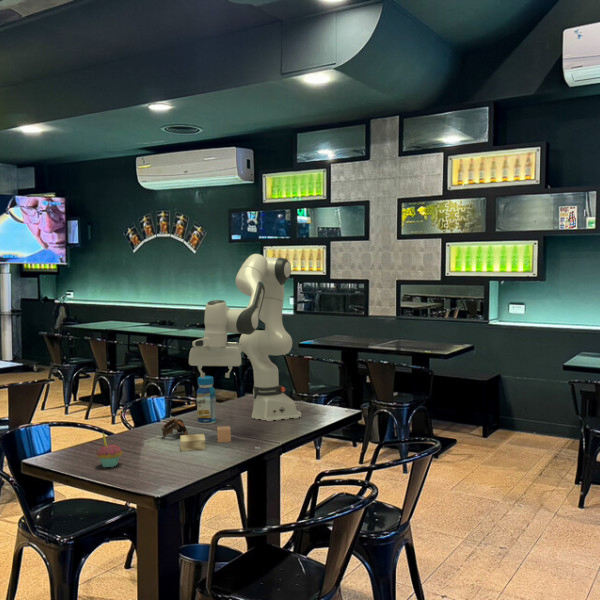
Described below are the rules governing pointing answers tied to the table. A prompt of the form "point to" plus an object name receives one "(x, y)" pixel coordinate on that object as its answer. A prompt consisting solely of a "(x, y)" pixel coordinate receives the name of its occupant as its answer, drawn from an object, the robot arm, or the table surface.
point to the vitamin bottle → (206, 401)
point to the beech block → (192, 442)
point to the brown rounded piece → (174, 427)
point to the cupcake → (109, 454)
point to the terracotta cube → (224, 434)
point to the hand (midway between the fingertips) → (214, 377)
